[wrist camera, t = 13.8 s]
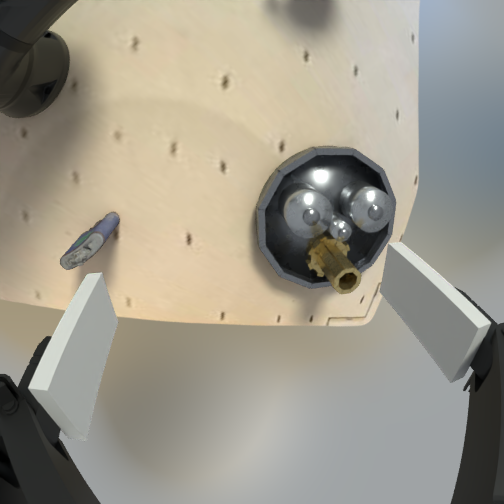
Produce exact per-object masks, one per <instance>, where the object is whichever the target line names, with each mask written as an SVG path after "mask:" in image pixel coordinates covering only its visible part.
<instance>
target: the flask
mask: <svg viewBox="0 0 504 504" xmlns="http://www.w3.org/2000/svg"><path fill="white" fill-rule="evenodd" d="M119 220H120V218H119V215H118V214H117V213H116V212H111V213H109V214H107V215H106V216H105V217H104V218H103V219H102V220H101V221H99V222H97V223H96V224H95V225H94V227H93V228H90V230H89V231H86V232H85V233H83V234H82V235H81V236H80V237H79V238H78V239H77V241H76V242H75V243H74V244H73V245H72V246H71V247H70V248H69V250H68V251H67V252H66V253H65V254H64V255H63V256H62V257H61V259H60V264H61V266H62V267H63V268H64V269H66V270H70V269H73V268H75V267H77V266H81V265H83V263H85V262H86V261H87V260H88V259H89V258H91V257H92V256H93V255H94V254H95V253H96V252H97V251H98V250H99V249H100V248H101V247H102V246H103V244H104V243H105V241H106V240H107V238H108V237H109V235H110V234H111V233H112V231H113V230H114V229H115V227H116V226H117V225H118V223H119Z"/></svg>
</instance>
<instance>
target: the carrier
mask: <svg viewBox="0 0 504 504" xmlns="http://www.w3.org/2000/svg"><path fill="white" fill-rule="evenodd" d="M256 205H257V206H256V229H257V242H258V245H259V248H260V250H261V251H262V252H263V254H264V255H265V257H266V258H267V260H268V261H269V262H270V264H271V265H272V267H273V268H274V269H275V271H276V272H277V274H278V275H279V276H280V277H282V278H284V279H287V280H289V281H292V282H295V283H297V284H300V285H302V286H305V287H307V288H311V289H312V288H320V287H327V286H332V285H331V283H330V282H329V280H328V279H327V277H326V276H325V274H324V275H323V277H320V276H317V275H316V273H315V272H314V271H315V269H311V270H310V269H309V267H308V266H307V263H306V261H305V260H307V259H308V255H309V254H308V253H307V252H306V249H307V247H308V245H312V244H313V243H314V242H315V241H316V240H317V237H316V236H319V235H320V234H322V233H323V234H324V235H325V236H333V237H334V238H335V240H337V241H339V242H344V241H345V242H346V243H347V244H348V245H349V248H350V250H349V251H347V258H348V259H349V260H350V261H351V263H352V264H353V265H354V266H355V267H356V268H357V270H358V271H359V272H360V273H362V272H363V271H365V270H366V269H368V268H369V267H371V266H372V264H374V263H375V261H376V260H377V258H378V256H379V255H380V253H381V252H382V250H383V249H384V247H385V246H386V244H387V242H388V241H389V239H390V238H391V235H392V231H393V224H394V216H395V208H396V199H395V196H394V194H393V191H392V189H391V186H390V183H389V181H388V178H387V176H386V174H385V171H384V170H383V168H381V167H380V166H379V165H377V164H376V163H374V162H373V161H372V160H370V159H369V158H367V157H366V156H365V155H363V154H362V153H360V152H359V151H357V150H356V149H353V148H350V147H337V146H318V147H310V148H308V149H306V150H304V151H301V152H299V153H297V154H295V155H293V156H291V157H290V158H289V159H287V160H286V161H284V162H283V163H282V164H281V165H280V166H279V167H278V168H277V169H275V171H274V172H273V173H272V175H271V176H270V177H269V179H268V180H267V182H266V183H265V185H264V187H263V189H262V192H261V194H260V197H259V200H258V202H257V204H256Z"/></svg>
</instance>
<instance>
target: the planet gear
mask: <svg viewBox="0 0 504 504" xmlns="http://www.w3.org/2000/svg"><path fill="white" fill-rule="evenodd" d="M316 237H317V240H316V241H315V242H314V243H313V244H312V245H308V247H307V249H306V252H307V253H308V254H309V255H308V259H307V260H305V261H306V263H307V266H308V267H309V269H310V270H311V269H315V271H314V272H315V273H316V275H317V276H320V277H323V275H324V274H325V276H326V277H327V279H328V280H329V282H330V283H331V285H332V286H333V288H334V289H335V290H336V291H337V292H339V293H340V294H347V293H351V292H353V291H354V290H355V289H356V288H357V287H358V286H359V284H360V281H361V273H360V272H359V271H358V270H357V268H356V267H355V266H354V265H353V264H352V263H351V261H350V260H349V259H348V258H347V251H349V250H350V248H349V245H348V244H347V243H346V242H345V241H344V242H339V241H337V240H335V238H334V237H333V236H325V235H324V234H323V233H322V234H320V235H319V236H316Z"/></svg>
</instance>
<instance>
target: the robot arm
mask: <svg viewBox="0 0 504 504" xmlns="http://www.w3.org/2000/svg"><path fill="white" fill-rule="evenodd" d="M77 1H78V0H0V112H1V113H3V114H5V115H7V116H9V117H14V118H23V117H30V116H33V115H36V114H38V113H40V112H42V111H43V110H44V109H46V108H47V107H48V106H49V105H50V104H51V103H52V102H53V101H54V100H55V98H56V97H57V96H58V94H59V93H60V91H61V89H62V87H63V85H64V83H65V80H66V77H67V74H68V70H69V51H68V47H67V45H66V43H65V41H64V40H63V38H62V37H61V36H59V35H58V34H56V33H54V32H52V31H49V30H48V29H49V28H50V27H51V26H52V25H53V24H54V23H55V22H56V21H57V20H58V19H59V18H60V17H61V16H62V15H63V14H64V13H65V12H66V11H67V10H68V9H69V8H70V7H71V6H72V5H73V4H74V3H76V2H77ZM380 293H381V294H382V295H383V296H384V298H385V299H386V300H387V301H388V303H389V304H390V305H391V306H392V307H393V309H394V310H395V311H396V312H397V314H398V315H399V316H400V317H401V318H402V320H403V321H404V322H405V323H406V325H407V326H408V327H409V328H410V330H411V331H412V332H413V333H414V335H415V336H416V337H417V339H418V340H419V341H420V342H421V344H422V345H423V346H424V348H425V349H426V350H427V352H428V353H429V354H430V356H431V357H432V358H433V359H434V361H435V362H436V364H437V365H438V366H439V368H440V369H441V370H442V372H443V373H444V374H445V376H446V377H447V379H448V380H449V381H450V383H452V382H454V381H456V380H458V379H460V378H462V377H464V375H465V374H466V372H467V370H468V368H469V367H470V366H471V368H472V369H473V370H474V371H473V373H472V375H471V376H470V378H469V380H468V381H467V383H466V385H465V386H464V389H463V391H465V390H466V389H467V387H468V386H469V385H470V390H469V392H470V396H469V408H468V419H467V426H466V434H465V441H464V447H463V453H462V459H461V464H460V468H459V473H458V477H457V482H456V486H455V490H454V494H453V498H452V501H451V504H504V323H500V324H497V323H496V322H495V321H494V320H493V319H492V318H491V317H490V316H489V315H488V314H487V313H485V311H484V310H483V309H481V308H480V307H479V306H477V304H476V303H475V302H474V301H472V300H471V298H470V297H469V296H468V295H466V294H465V293H464V292H463V291H461V290H459V289H457V288H455V287H453V286H452V285H451V284H450V283H449V282H448V281H446V280H445V279H444V278H443V277H442V276H441V275H440V274H439V273H437V272H436V271H435V270H434V269H433V268H431V267H430V266H429V265H428V264H427V263H426V262H425V261H423V260H422V259H421V258H420V257H419V256H417V255H416V254H415V253H414V252H413V251H411V250H410V249H409V248H408V247H406V246H405V245H404V244H403V243H401V242H396V243H388V248H387V255H386V261H385V266H384V272H383V277H382V282H381V287H380ZM117 324H118V320H117V317H116V314H115V311H114V308H113V305H112V302H111V299H110V296H109V293H108V290H107V287H106V284H105V280H104V277H103V274H102V272H101V273H90V274H87V275H86V277H85V278H84V280H83V282H82V283H81V285H80V287H79V288H78V290H77V292H76V294H75V295H74V297H73V299H72V301H71V302H70V304H69V306H68V308H67V309H66V311H65V313H64V315H63V317H62V319H61V320H60V322H59V324H58V326H57V328H56V330H55V332H54V334H53V336H47V337H45V338H44V339H43V341H42V342H41V343H40V344H39V345H38V346H37V348H36V350H35V352H34V354H33V357H32V358H31V360H30V362H29V363H30V364H29V365H28V366H27V368H26V370H25V373H24V375H23V377H22V379H21V381H20V383H19V386H18V388H17V386H16V385H15V384H14V382H13V381H12V379H11V378H10V376H8V375H6V374H0V504H100V502H99V501H98V499H97V498H96V496H95V495H94V494H93V492H92V490H91V489H90V487H89V486H88V485H87V483H86V481H85V480H84V478H83V477H82V475H81V474H80V472H79V470H78V469H77V467H76V465H75V464H74V462H73V460H72V459H71V457H70V455H69V453H68V452H67V450H66V448H65V446H64V444H63V443H62V441H61V440H60V439H59V433H60V430H62V432H63V433H64V434H65V435H66V436H67V437H68V438H70V439H77V440H87V437H88V432H89V427H90V423H91V418H92V414H93V409H94V406H95V401H96V397H97V393H98V390H99V385H100V382H101V378H102V374H103V371H104V367H105V363H106V360H107V357H108V353H109V350H110V347H111V343H112V340H113V337H114V334H115V331H116V328H117Z"/></svg>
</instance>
